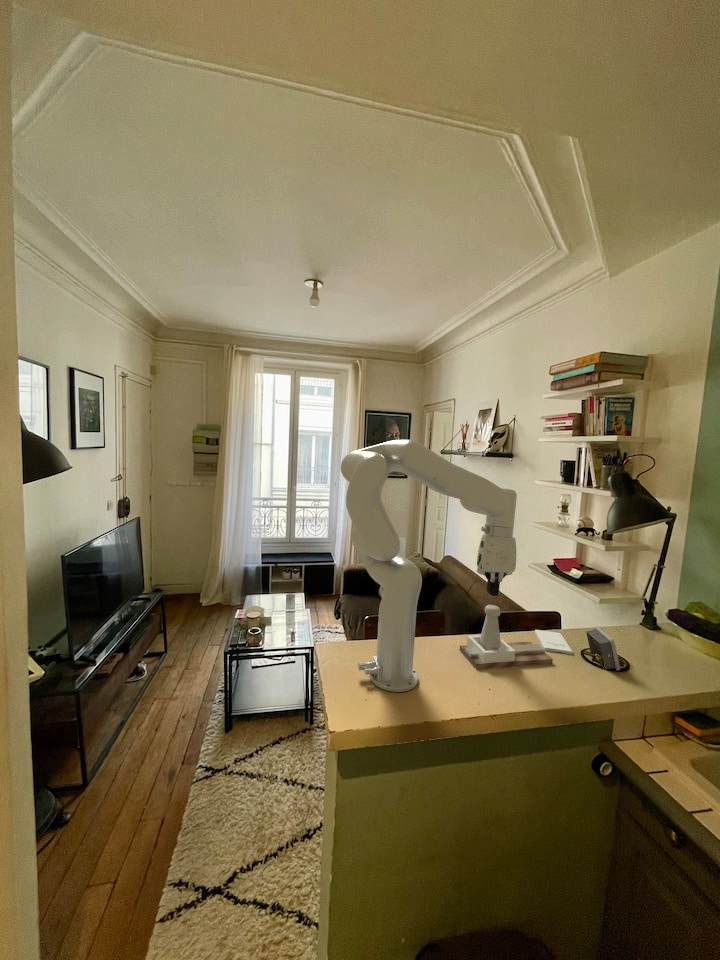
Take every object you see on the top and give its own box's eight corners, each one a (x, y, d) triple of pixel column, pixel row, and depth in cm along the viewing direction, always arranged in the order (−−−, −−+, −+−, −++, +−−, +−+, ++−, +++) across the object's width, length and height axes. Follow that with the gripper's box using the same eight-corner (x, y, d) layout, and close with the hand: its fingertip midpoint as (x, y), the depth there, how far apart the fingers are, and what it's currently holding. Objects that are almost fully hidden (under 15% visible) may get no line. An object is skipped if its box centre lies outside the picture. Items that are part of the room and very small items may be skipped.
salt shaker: (501, 648, 110) (504, 605, 109) (499, 657, 105) (503, 612, 104) (480, 642, 112) (483, 601, 111) (478, 651, 107) (481, 607, 106)
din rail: (470, 657, 106) (471, 654, 105) (464, 651, 109) (465, 647, 109) (544, 652, 110) (545, 649, 110) (537, 646, 114) (537, 643, 114)
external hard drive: (560, 637, 125) (573, 656, 113) (534, 633, 127) (544, 652, 115) (561, 633, 125) (573, 651, 113) (534, 629, 127) (544, 647, 115)
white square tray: (483, 663, 103) (484, 652, 103) (466, 645, 112) (467, 635, 112) (514, 661, 105) (515, 650, 105) (495, 643, 114) (496, 634, 114)
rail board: (476, 669, 102) (476, 664, 102) (459, 650, 112) (459, 645, 112) (552, 663, 107) (552, 658, 107) (529, 646, 117) (530, 641, 117)
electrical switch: (621, 672, 105) (620, 640, 104) (601, 672, 105) (601, 640, 105) (602, 655, 114) (602, 625, 114) (584, 654, 115) (584, 625, 114)
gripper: (481, 533, 101) (475, 599, 102) (530, 535, 104) (523, 599, 105) (468, 527, 108) (462, 589, 109) (514, 529, 111) (507, 589, 112)
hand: (492, 594), depth 107 cm, fingers closed
